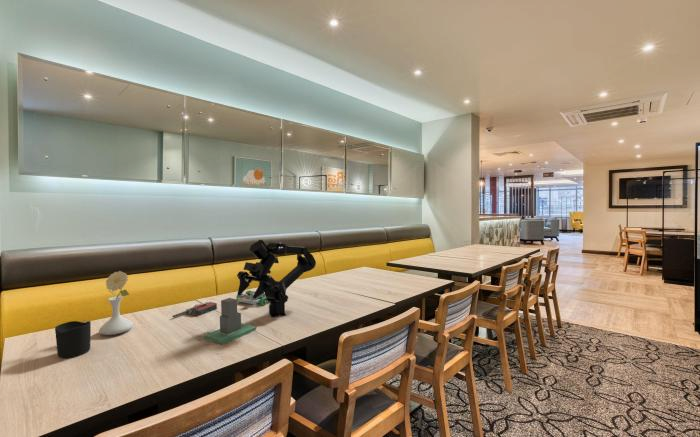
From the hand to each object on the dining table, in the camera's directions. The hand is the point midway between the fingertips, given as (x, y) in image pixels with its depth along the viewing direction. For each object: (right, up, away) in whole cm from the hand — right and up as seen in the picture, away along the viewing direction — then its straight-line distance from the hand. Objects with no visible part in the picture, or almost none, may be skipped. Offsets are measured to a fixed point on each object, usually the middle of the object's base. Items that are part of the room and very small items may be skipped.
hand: (245, 296), depth 137 cm
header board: (-4, -13, -6) cm, 15 cm away
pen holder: (-52, -15, -22) cm, 59 cm away
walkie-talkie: (-29, -13, +19) cm, 37 cm away
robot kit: (-4, -12, +41) cm, 43 cm away
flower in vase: (-50, -14, -4) cm, 52 cm away
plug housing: (-4, -12, -6) cm, 14 cm away
